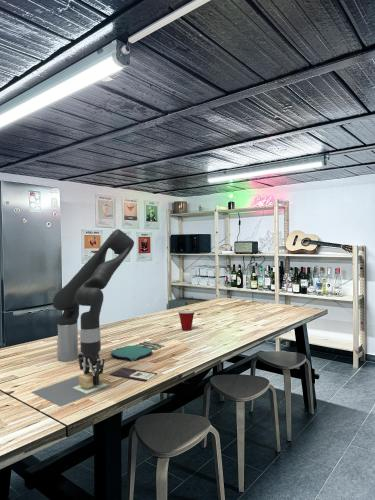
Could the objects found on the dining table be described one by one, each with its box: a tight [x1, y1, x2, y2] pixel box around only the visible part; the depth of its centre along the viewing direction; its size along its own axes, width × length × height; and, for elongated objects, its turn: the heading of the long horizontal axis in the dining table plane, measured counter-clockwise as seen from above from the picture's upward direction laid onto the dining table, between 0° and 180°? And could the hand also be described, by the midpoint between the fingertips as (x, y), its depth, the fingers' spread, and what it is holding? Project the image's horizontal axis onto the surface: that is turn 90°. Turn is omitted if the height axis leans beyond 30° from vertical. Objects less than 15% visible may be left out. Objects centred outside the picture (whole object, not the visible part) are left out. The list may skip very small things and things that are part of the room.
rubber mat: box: [30, 374, 112, 408], centre depth 137 cm, size 20×22×1 cm
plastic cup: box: [177, 310, 196, 332], centre depth 229 cm, size 11×11×12 cm
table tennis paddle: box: [110, 341, 166, 362], centre depth 184 cm, size 20×30×2 cm, turn 148°
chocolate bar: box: [109, 367, 158, 383], centre depth 152 cm, size 9×1×18 cm
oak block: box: [78, 369, 105, 388], centre depth 139 cm, size 8×5×4 cm, turn 141°
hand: (91, 382), depth 139 cm, fingers closed on oak block, 4 cm apart
